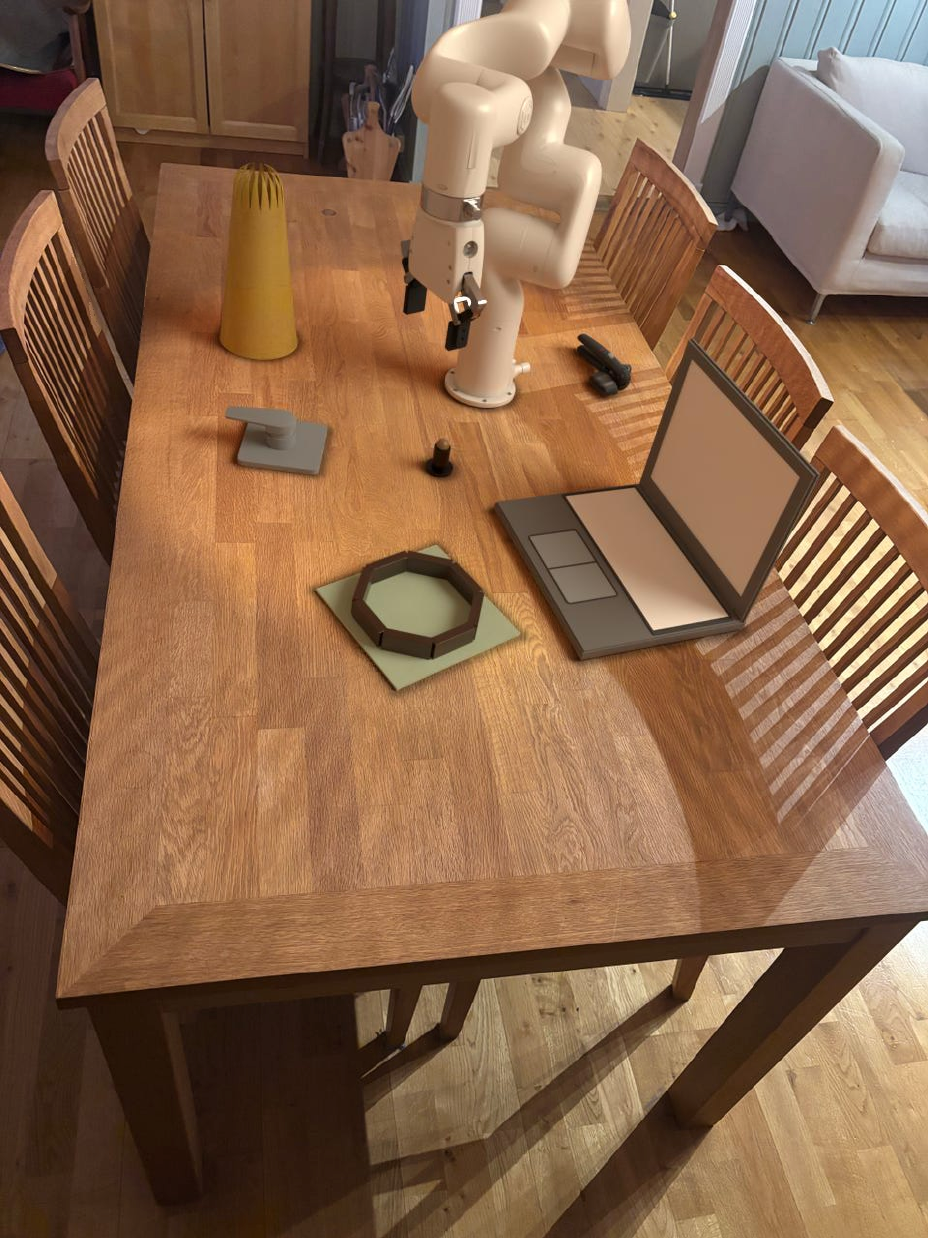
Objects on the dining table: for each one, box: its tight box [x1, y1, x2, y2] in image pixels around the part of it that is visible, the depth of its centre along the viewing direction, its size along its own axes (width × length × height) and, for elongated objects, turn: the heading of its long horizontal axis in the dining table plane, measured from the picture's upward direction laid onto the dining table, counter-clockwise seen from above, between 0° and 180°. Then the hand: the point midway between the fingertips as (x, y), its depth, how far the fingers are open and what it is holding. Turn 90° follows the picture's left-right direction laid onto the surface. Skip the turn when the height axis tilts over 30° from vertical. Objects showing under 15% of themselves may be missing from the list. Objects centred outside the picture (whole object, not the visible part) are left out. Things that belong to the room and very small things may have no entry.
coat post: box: [425, 438, 454, 478], centre depth 152 cm, size 4×4×6 cm
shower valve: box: [225, 405, 328, 476], centre depth 150 cm, size 12×6×15 cm
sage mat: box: [315, 544, 521, 691], centre depth 131 cm, size 20×20×1 cm
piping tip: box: [219, 162, 299, 361], centre depth 162 cm, size 14×14×30 cm
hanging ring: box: [351, 549, 485, 660], centre depth 130 cm, size 17×17×3 cm
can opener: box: [576, 333, 633, 397], centre depth 179 cm, size 18×7×6 cm, turn 20°
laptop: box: [493, 337, 821, 661], centre depth 133 cm, size 32×26×28 cm
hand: (434, 329), depth 128 cm, fingers open, 9 cm apart
